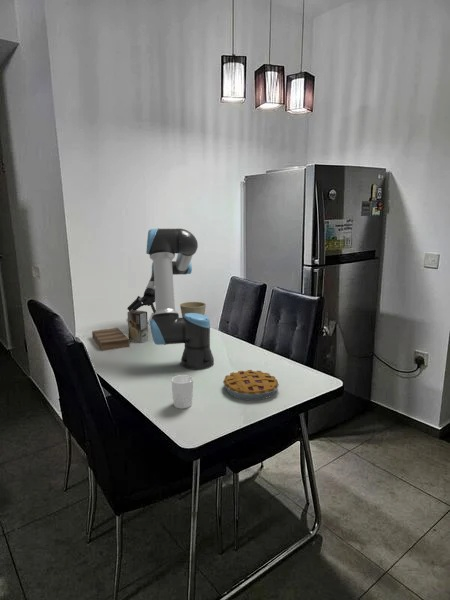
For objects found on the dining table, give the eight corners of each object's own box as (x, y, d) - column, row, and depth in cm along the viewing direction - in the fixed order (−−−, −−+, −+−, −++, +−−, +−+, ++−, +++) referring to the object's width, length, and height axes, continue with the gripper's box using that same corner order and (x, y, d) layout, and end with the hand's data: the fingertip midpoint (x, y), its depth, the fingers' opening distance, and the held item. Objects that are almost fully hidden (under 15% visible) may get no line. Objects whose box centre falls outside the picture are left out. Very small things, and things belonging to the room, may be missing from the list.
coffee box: (149, 340, 224) (148, 311, 220) (141, 343, 218) (140, 314, 215) (135, 337, 228) (134, 309, 224) (128, 340, 222) (126, 312, 219)
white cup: (194, 399, 154) (193, 374, 152) (193, 409, 146) (192, 383, 144) (173, 399, 153) (172, 374, 151) (171, 409, 146) (170, 383, 144)
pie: (232, 405, 149) (232, 393, 148) (216, 382, 170) (216, 370, 169) (287, 398, 155) (288, 386, 154) (265, 376, 176) (266, 365, 175)
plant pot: (210, 329, 244) (210, 303, 240) (196, 335, 231) (195, 308, 228) (190, 325, 252) (190, 300, 248) (175, 331, 239) (174, 305, 236)
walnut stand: (129, 346, 213) (129, 339, 212) (102, 350, 206) (101, 343, 205) (117, 334, 233) (117, 327, 232) (92, 337, 227) (92, 331, 226)
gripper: (173, 296, 231) (161, 329, 221) (136, 293, 240) (122, 324, 230) (169, 288, 225) (155, 321, 215) (130, 285, 234) (116, 317, 224)
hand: (138, 323), depth 222 cm, fingers open, 13 cm apart
